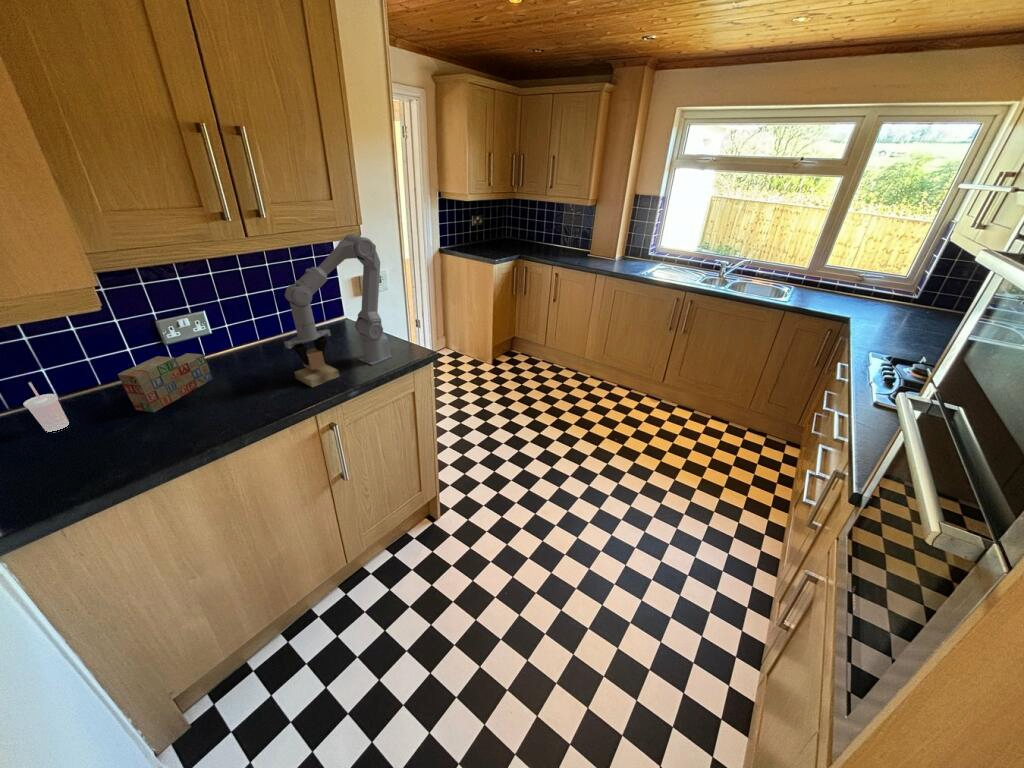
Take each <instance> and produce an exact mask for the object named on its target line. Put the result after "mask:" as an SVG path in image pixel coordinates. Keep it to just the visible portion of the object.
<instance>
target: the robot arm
mask: <svg viewBox="0 0 1024 768" xmlns="http://www.w3.org/2000/svg"><path fill="white" fill-rule="evenodd" d="M347 259H348V260H349V259H356V260H358V261H359V262H360V263H361V265H363V268H362V269H363V271H362V289H361V290H362V291H361V310H360V311H359V312H358V313H357V319H356V321H355V322H354V328H355V330H356V332H358V333H359V340H360V344H361V345H360V346H361V351H362V357H359V358H358V360H359V361H361V362H363V363H366V364H368V365H370V366H373V365H376V364H378V363H381V362H383V361H386V360H388V359H391V358H392V357H393V356H392V355H391V348H390V342H389V341H390V340H389V338H388V337H387V335H386V334H385V333H384V327H383V325H382V318H381V316H380V314H379V312H378V307H379V294H380V293H379V292H380V276H381V274H380V273H381V260H380V257H379V254H378V252H377V244H375V243H374V242H373V241H372V240H371V239H370V238H368V237H366V236H365V237H363V236H358V235H356V234H353V233H352V234H351V233H350V234H347V235H346V236H345V237H344V238H343V239H341V240H340V241H339V242H338V244H337V245H336V247H335V248H334V249H333V250H332V251H331V252H330V253H329V254H328V256H327V257H326V258H325V259H324V260H323V261H322V262H321V263H320V264H319V265H318V266H317V267H316V266H311V267H310V268H306V269H305V273H304V274H303V275H302V276H301V277H300V278H299V279H298V280H297V279H296V280H295V281H294V283H293V284H290V285H289V286H287V287H286V289H285V292H284V293H285V294H284V298H285V299H286V300H287V302H289V306H290V310H291V314H292V319H293V323H294V325H295V331H296V334H297V336H294V337H292V338H290V339H287V340H285V341H284V346H285V348H286V349H289V350H290V349H293V350H294V351H295V352H296V353H297V355H298V356H299V358H300V359H301V361H302V364H303V363H304V364H305V365H309V362H308V358H307V350H308V349H307V347H306V346H305V345H304V344H306V343H309V342H313V344H314V346H315V349H317V350H320V351H322V354H323V358H325V350H326V346H327V343H328V338H326V337H331V336H332V334H331V330H330V329H327V328H325V329H321V330H317V327H316V326H317V325H316V323H315V317H314V315H313V310H312V306H311V304H312V301H313V295H314V294H316V293H317V291H318V290H320V289H321V288H322V287H323V285H324V284H325V283H326V282H328V275H329V274H330V273H331V272H332V271H333V270H335V269H336V268H337V267H338V266H340V264H342V263H343V262H344V261H345V260H347Z"/></svg>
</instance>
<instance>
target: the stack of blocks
mask: <svg viewBox="0 0 1024 768" xmlns="http://www.w3.org/2000/svg"><path fill="white" fill-rule="evenodd" d="M117 377H118V378H119V381H120V383H121V385H122V387H123V389H124V391H125V393H127V396H128V399H130V401H131V404H132V406H133V407H134V409H135V411H138V412H140V411H141V412H147V413H148V412H149V413H155V412H158V411H159V410H161V409H162V408H164V407H166V406H168V405H170V404H172V403H173V402H175V401H178V400H179V399H181V398H182V397H184V396H185V395H188V394H189V393H191V392H193V391H195V390H196V389H197V388H199V387H201V386H203V385H206V383H207V384H208V383H209V382H210V381H212V380H214V378H213V376H212V373H211V370H210V367H209V365H208V363H207V360H206V358H205V356H204V354H200V353H188V352H187V353H184V354H182V355H180V356H177V357H172V356H171V357H170V356H159V355H157V356H154V357H153V358H150V359H148V360H145V361H144V362H142V363H139V364H137V365H135V366H133V367H131V368H128V369H126V370H123V371H121V372H119V373H118V374H117ZM192 390H193V391H192Z"/></svg>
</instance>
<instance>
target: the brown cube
mask: <svg viewBox="0 0 1024 768" xmlns="http://www.w3.org/2000/svg"><path fill="white" fill-rule="evenodd" d="M307 358H308V362H309V365H305V364H304V363H303V362H302V364H303V366H304V368H309V369H311V370H313V369H316V368H318V367H321V366H324V365H325V364H326V363H325V359H324V358H325V357H324V358H323V354H322V351H320V350H317V349H316V347H315V348H314V347H312V348H310V349H307Z"/></svg>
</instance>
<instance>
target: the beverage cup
mask: <svg viewBox="0 0 1024 768" xmlns="http://www.w3.org/2000/svg"><path fill="white" fill-rule="evenodd" d="M28 385H29V387H30V388H31V390H32V391H33V393H34V394H35V396H34V397H31V398H29V399H27V400H25V401H24V402H23V404H22V405H23V406H24V407H25V408H27V409H28V410H29V412H30V413H31V415H33V417H34V418H35V419H36V421H37V422H38V423H39V424H40V425H41V427H42V429H43V430H44V431H45V432H46V431H47V432H46V433H48V432H52V431H57V430H60V429H63V428H65V427H67V426H68V425H69V423H70V422H69V419H68V417H67V415H66V414H65V411H64V410H63V408H62V405H61V403H60V402H59V397H58V395H57V394H56V393H46V394H41V395H40V394H39V393H38V391H37V390H36V388H35V387H34V385H33V383H32V381H29V382H28ZM67 428H68V427H67Z"/></svg>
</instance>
